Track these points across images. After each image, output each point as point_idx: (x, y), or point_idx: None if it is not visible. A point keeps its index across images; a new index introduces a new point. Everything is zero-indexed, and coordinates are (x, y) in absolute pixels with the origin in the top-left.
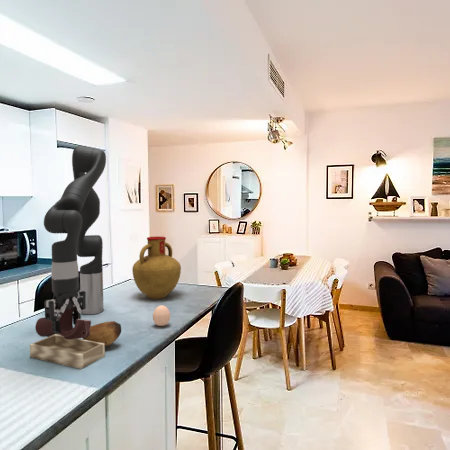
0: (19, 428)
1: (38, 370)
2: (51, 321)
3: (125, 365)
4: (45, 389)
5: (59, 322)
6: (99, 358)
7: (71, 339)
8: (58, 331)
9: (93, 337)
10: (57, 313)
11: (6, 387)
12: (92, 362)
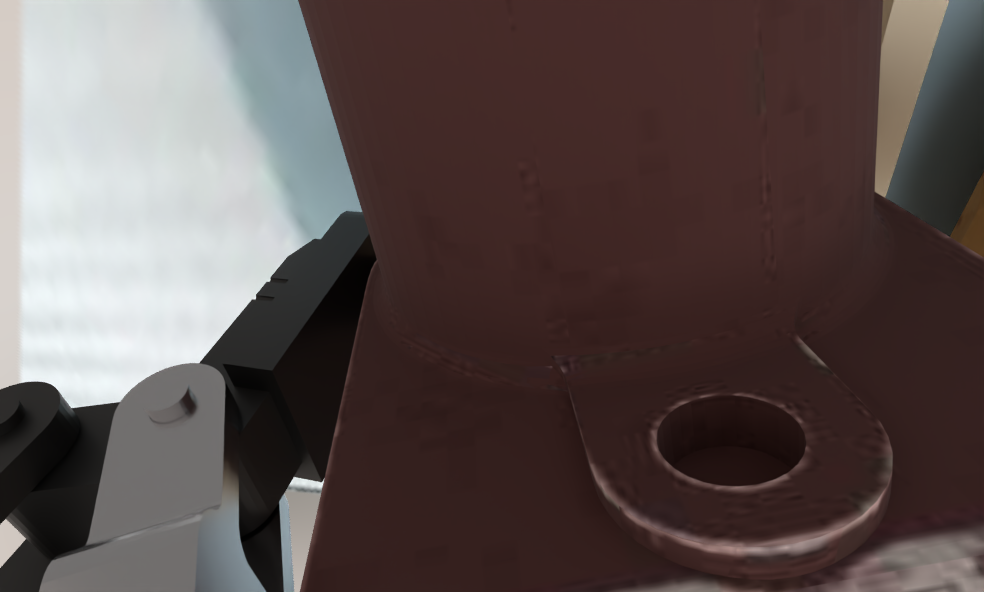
0: (66, 400)
1: (295, 49)
2: (341, 129)
3: None
4: (223, 308)
5: (319, 456)
6: None
7: (886, 5)
8: None
9: None
10: (336, 460)
11: (34, 70)
12: None
